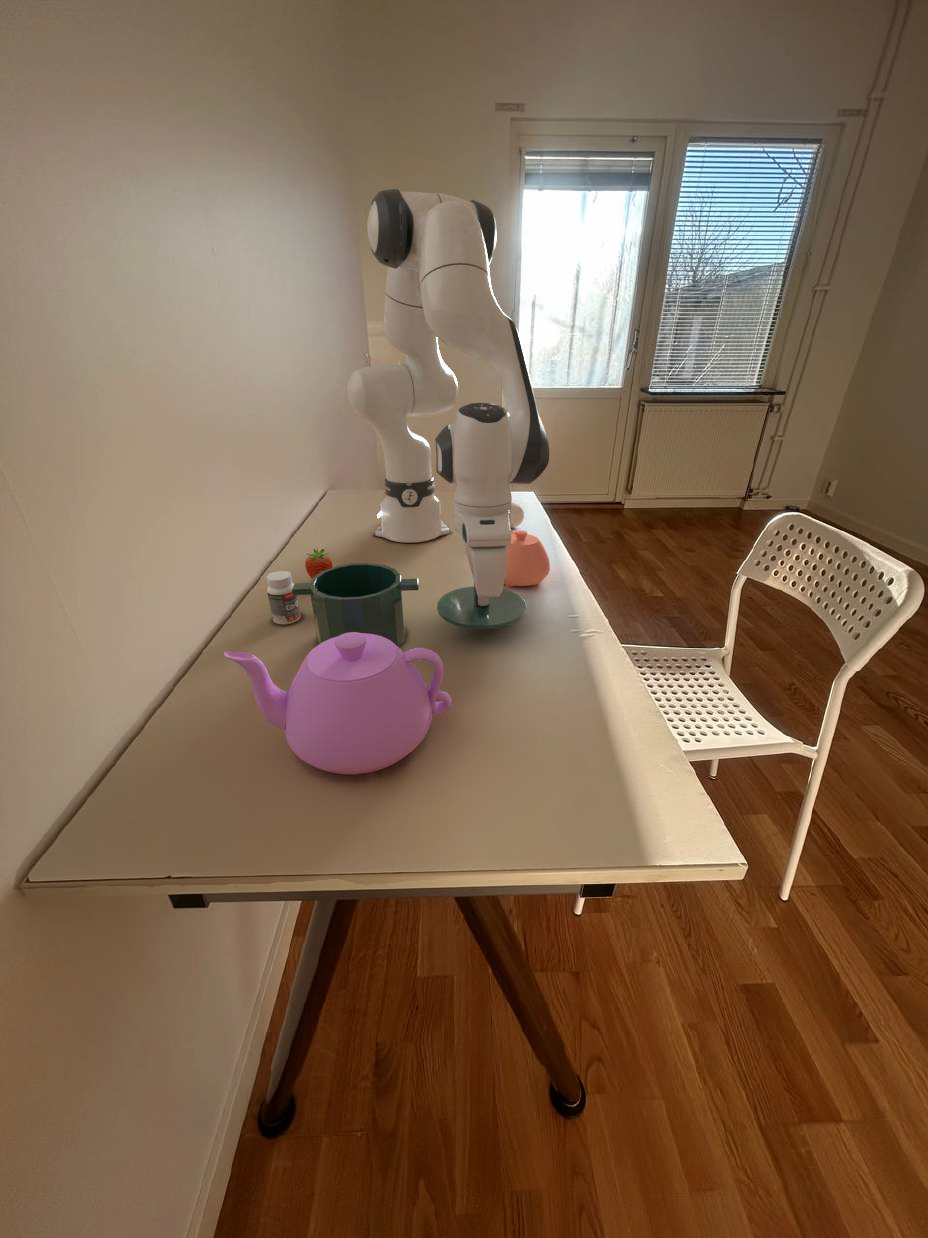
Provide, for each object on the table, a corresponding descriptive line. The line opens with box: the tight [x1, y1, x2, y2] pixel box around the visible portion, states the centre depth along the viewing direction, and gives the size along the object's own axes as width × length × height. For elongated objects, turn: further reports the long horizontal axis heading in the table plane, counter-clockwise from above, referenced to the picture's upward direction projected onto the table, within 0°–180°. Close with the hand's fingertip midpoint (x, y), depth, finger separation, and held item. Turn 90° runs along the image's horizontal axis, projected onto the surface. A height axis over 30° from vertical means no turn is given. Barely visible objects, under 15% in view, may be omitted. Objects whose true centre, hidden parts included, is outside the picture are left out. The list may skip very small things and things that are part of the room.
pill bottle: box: [266, 570, 301, 625], centre depth 89 cm, size 5×5×8 cm
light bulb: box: [511, 502, 525, 529], centre depth 137 cm, size 7×7×11 cm
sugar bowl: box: [503, 529, 551, 588], centre depth 104 cm, size 12×14×10 cm
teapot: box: [223, 632, 452, 776], centre depth 61 cm, size 25×18×14 cm
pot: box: [292, 562, 419, 648], centre depth 83 cm, size 14×19×10 cm
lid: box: [436, 583, 527, 630], centre depth 86 cm, size 15×15×5 cm
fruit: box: [304, 548, 334, 579], centre depth 102 cm, size 5×5×8 cm
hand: (481, 598), depth 86 cm, fingers closed on lid, 2 cm apart
